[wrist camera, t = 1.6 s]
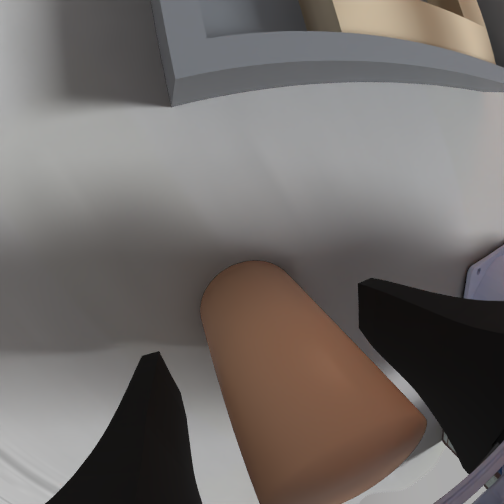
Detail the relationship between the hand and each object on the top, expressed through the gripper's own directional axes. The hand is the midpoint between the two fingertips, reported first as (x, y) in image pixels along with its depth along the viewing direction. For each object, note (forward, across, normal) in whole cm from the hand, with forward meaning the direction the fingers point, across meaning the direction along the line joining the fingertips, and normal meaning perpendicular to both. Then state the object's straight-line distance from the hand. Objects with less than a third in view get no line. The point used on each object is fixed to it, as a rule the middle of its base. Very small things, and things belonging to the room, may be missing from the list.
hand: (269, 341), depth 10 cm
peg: (+2, 0, 0) cm, 2 cm away
